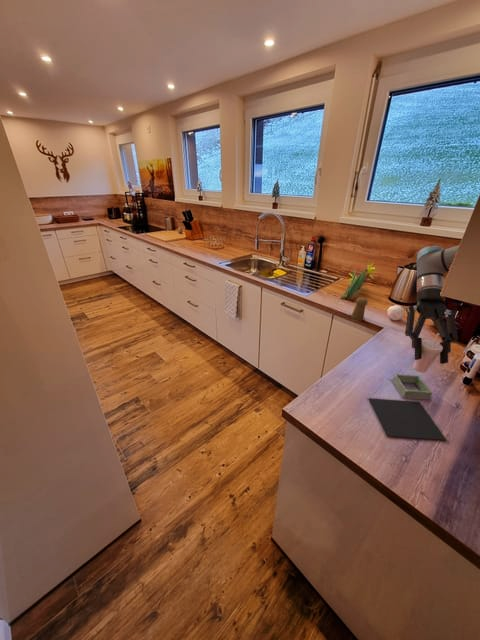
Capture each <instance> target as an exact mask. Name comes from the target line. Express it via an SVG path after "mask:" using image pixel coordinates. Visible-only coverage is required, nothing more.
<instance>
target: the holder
mask: <svg viewBox="0 0 480 640" xmlns="http://www.w3.org/2000/svg"><path fill="white" fill-rule="evenodd" d="M391 381H392V383H393V385H394V386H395V387H396V389H397V391H398V392H399V394H400V396H401V397H402V398H403V399H417V400H430V398H431V396H432V395H433V392H432V390H431V389H430V387H428V385H427V384H426V383H425V382H424V380H423V379H422V377H420V375H417V374H416V375H415V374H399V373H394V375H393V377H392V379H391ZM404 383H408V384H415V385H416V386H417V388H418V389H419V390H414V389H413V390H412V389H407V387H406V386H405V385H404Z"/></svg>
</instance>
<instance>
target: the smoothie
mask: <svg viewBox="0 0 480 640" xmlns="http://www.w3.org/2000/svg"><path fill="white" fill-rule="evenodd" d="M439 336H440V334H439V332H437V333H436V335H435V337H434V340H432V339H427V338H422V359H419V360H415V359H414V363H413V369H414V370H415V371H417V372H419V373H423V374H424V373H425V374H426V373H427V371H428V370H429V369H430V367H431V366H432V364H433V363H434V362H435V360H436V358H437V357H438V356H439V355H440V352H442V350H443V347H442V345H440V342H437V341H438V338H439Z"/></svg>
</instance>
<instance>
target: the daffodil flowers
mask: <svg viewBox="0 0 480 640" xmlns="http://www.w3.org/2000/svg"><path fill="white" fill-rule="evenodd" d="M374 263H375V261H373V262H372V263H370V264H367V268H366V269H364V270H363V271H362V272H361V273H360V274H358V275H357V272H356V269H355V268H353V270H352V273H351V272H348V274H349V275H350V276H351V278H348V279H346V281H347V282H349V285H348V287H347V288H346V290H345V291H344V293H343V295H342V296H341V299H343V298H344V299H346V300H348V301H350V300H351V299H352V297H353V299H352V300H351V301H354V300H355V299H356V297H357V296H358V294H359V292H360V291H361V289H362V287H363V286H367V284H366V283H369V282H370V281H369V280H366V279H367V278H368V277H370V278H371V279H372V280H375V278H374V275H373V274H375V273H376V272H377V271H376V266H373V265H374ZM366 273H367V274H366ZM365 280H366V281H365ZM354 295H355V296H354Z"/></svg>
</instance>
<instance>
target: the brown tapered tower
mask: <svg viewBox="0 0 480 640" xmlns="http://www.w3.org/2000/svg"><path fill="white" fill-rule="evenodd" d="M367 305H368V299H367V298H365V297H362V296H361V297H357V298H356V300H355V307H354V308H353V311H352V312H351V315H350V317H351V319H352V320H354V321H358V322H361V321H363V320H364V319H365V318H364V317H365V309H366V306H367Z"/></svg>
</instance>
